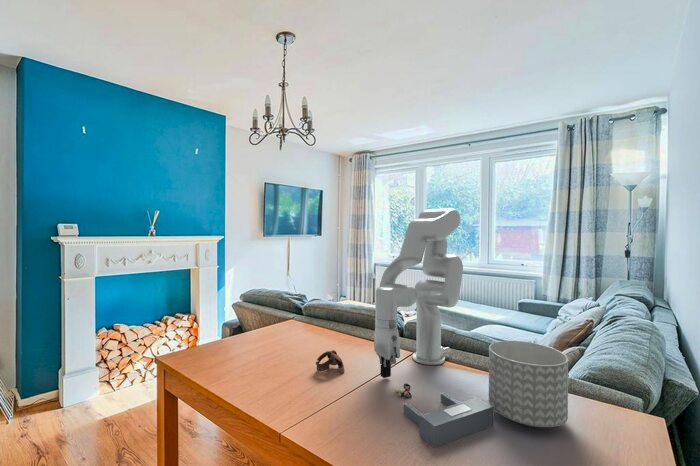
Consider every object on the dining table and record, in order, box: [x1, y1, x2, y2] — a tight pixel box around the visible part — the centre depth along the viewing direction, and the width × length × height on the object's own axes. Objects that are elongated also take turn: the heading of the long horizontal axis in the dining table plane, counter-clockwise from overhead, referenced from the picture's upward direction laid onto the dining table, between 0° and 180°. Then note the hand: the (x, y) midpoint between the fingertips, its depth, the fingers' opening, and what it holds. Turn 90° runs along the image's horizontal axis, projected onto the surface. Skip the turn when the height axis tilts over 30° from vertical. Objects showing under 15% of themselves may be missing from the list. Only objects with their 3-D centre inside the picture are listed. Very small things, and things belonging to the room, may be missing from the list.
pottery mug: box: [315, 349, 346, 375], centre depth 122 cm, size 12×10×8 cm
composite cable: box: [394, 383, 412, 400], centre depth 106 cm, size 10×5×2 cm, turn 152°
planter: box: [488, 340, 569, 428], centre depth 91 cm, size 19×19×18 cm
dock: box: [403, 392, 495, 448], centre depth 90 cm, size 20×16×5 cm
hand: (385, 376), depth 115 cm, fingers closed
